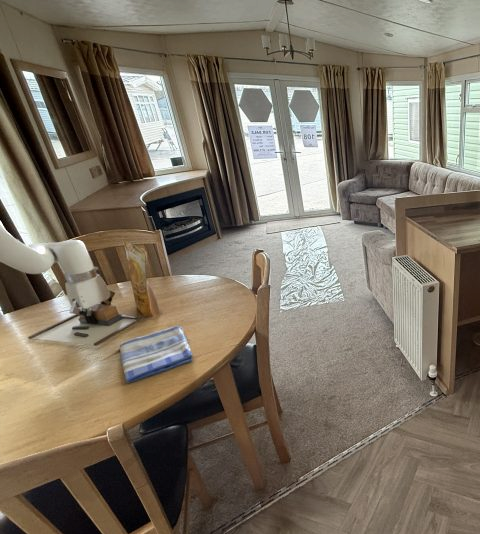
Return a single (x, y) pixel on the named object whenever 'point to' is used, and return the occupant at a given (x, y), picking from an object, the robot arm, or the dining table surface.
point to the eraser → (103, 315)
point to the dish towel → (154, 353)
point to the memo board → (83, 331)
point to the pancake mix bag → (140, 279)
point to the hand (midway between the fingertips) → (101, 319)
